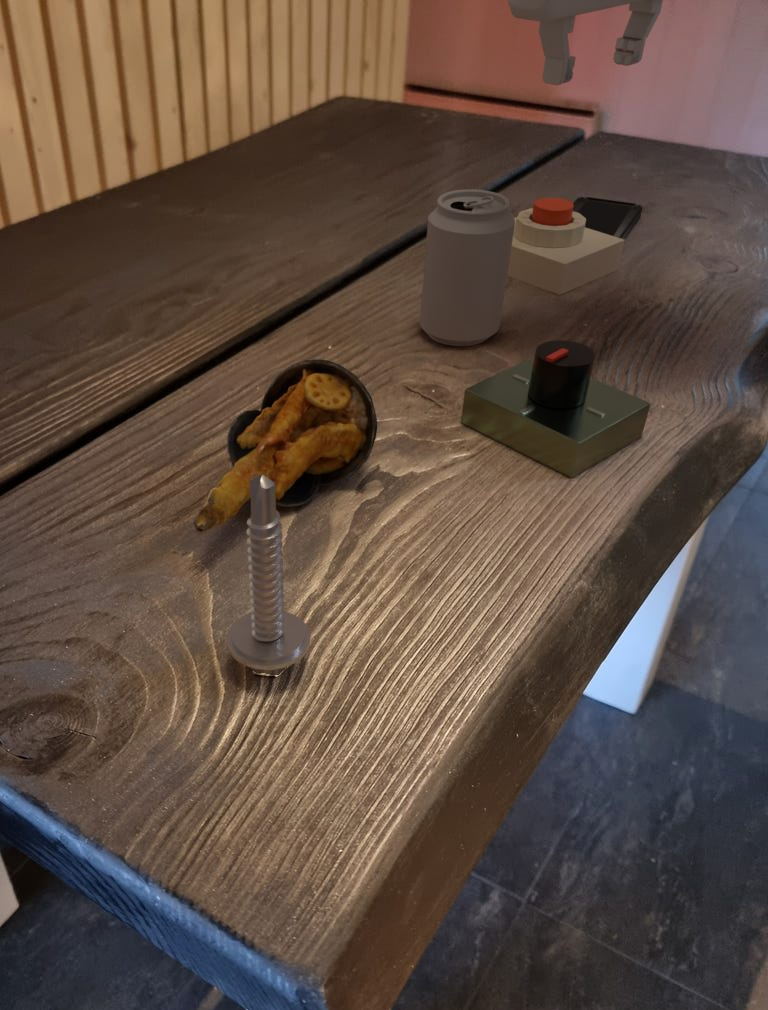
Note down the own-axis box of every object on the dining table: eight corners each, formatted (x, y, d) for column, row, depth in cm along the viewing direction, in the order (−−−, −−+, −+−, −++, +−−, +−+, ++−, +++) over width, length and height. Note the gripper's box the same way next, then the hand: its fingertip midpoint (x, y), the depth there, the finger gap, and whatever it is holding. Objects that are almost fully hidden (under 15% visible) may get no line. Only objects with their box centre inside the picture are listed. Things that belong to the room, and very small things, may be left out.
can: (411, 318, 90) (422, 186, 82) (487, 314, 90) (505, 183, 82) (426, 352, 84) (439, 214, 76) (507, 348, 85) (528, 210, 77)
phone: (644, 204, 109) (615, 245, 100) (642, 214, 110) (613, 256, 100) (578, 195, 112) (543, 234, 102) (576, 205, 113) (542, 245, 103)
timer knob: (550, 376, 74) (558, 331, 72) (597, 395, 72) (608, 348, 69) (516, 394, 72) (524, 348, 69) (564, 415, 70) (574, 367, 67)
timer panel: (641, 437, 73) (651, 400, 71) (571, 478, 69) (579, 441, 66) (531, 387, 79) (537, 352, 77) (460, 422, 75) (464, 387, 73)
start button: (578, 221, 96) (581, 204, 94) (554, 231, 94) (557, 213, 93) (547, 212, 98) (550, 194, 97) (523, 221, 96) (526, 203, 95)
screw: (303, 696, 52) (220, 687, 53) (315, 639, 56) (237, 631, 57) (302, 505, 44) (203, 497, 44) (317, 452, 47) (225, 445, 48)
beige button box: (618, 270, 98) (629, 221, 95) (559, 296, 93) (568, 245, 90) (528, 240, 105) (536, 193, 101) (469, 262, 100) (475, 214, 97)
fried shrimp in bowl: (417, 393, 69) (351, 435, 53) (345, 512, 74) (266, 583, 59) (315, 327, 70) (221, 350, 54) (251, 450, 75) (148, 503, 59)
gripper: (674, -160, 72) (632, 48, 81) (506, -147, 62) (480, 87, 71) (750, -159, 68) (697, 58, 78) (584, -145, 58) (547, 102, 68)
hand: (592, 73), depth 74 cm, fingers open, 8 cm apart
